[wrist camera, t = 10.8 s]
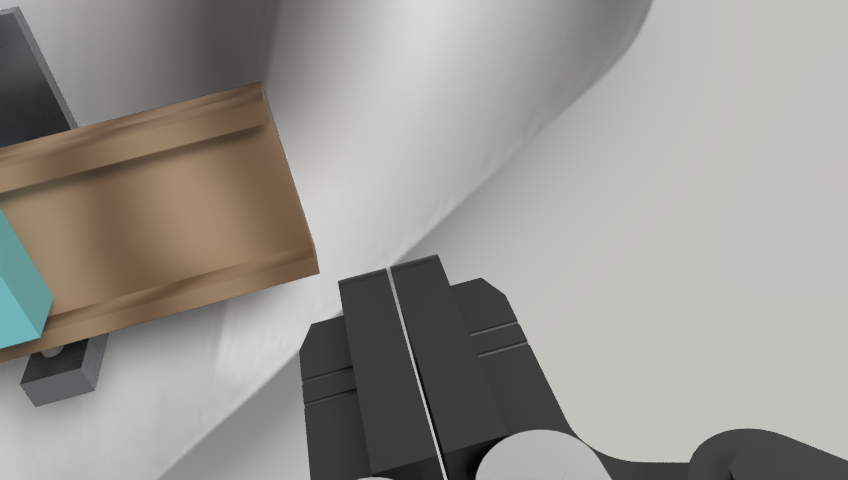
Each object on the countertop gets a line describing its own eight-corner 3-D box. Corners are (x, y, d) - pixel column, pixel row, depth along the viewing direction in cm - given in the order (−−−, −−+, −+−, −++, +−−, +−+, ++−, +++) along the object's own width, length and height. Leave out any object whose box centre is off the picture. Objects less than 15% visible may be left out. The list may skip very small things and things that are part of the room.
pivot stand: (18, 6, 34) (-32, 59, 28) (164, 303, 44) (151, 390, 38) (-158, 48, 34) (-249, 111, 27) (30, 339, 44) (-5, 433, 37)
